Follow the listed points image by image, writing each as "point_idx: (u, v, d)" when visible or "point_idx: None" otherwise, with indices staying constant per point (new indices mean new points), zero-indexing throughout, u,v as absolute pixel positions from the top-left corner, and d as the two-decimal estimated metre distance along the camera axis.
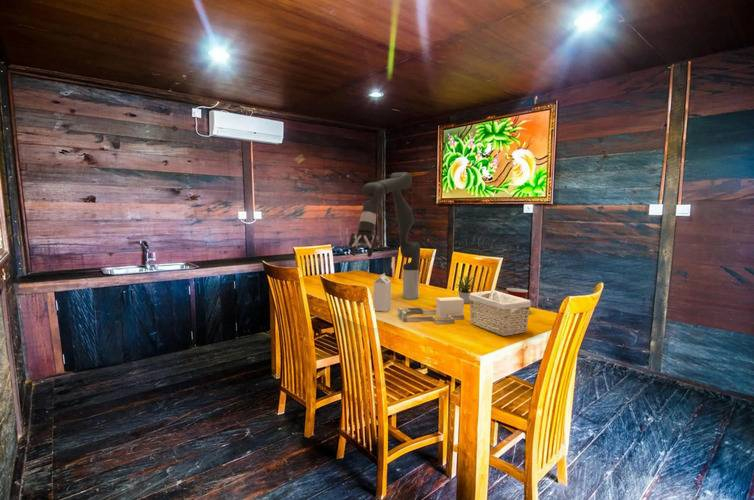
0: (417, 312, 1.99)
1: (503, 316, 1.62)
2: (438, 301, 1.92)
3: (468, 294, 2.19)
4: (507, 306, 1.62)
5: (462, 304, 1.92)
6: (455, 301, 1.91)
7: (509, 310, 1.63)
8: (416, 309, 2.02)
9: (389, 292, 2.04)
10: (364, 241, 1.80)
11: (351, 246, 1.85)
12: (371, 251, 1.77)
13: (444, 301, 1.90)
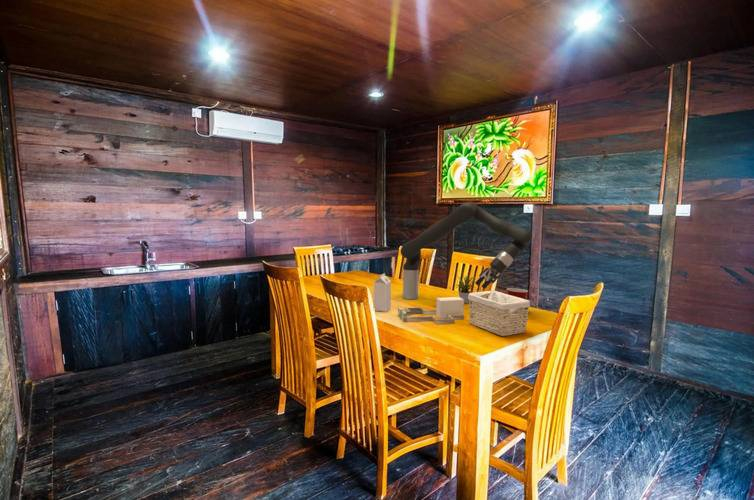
0: (417, 312, 1.99)
1: (502, 316, 1.62)
2: (438, 301, 1.92)
3: (468, 294, 2.19)
4: (506, 306, 1.61)
5: (462, 304, 1.92)
6: (455, 301, 1.91)
7: (508, 310, 1.63)
8: (416, 309, 2.02)
9: (389, 292, 2.04)
10: None
11: (490, 280, 1.87)
12: None
13: (444, 301, 1.90)
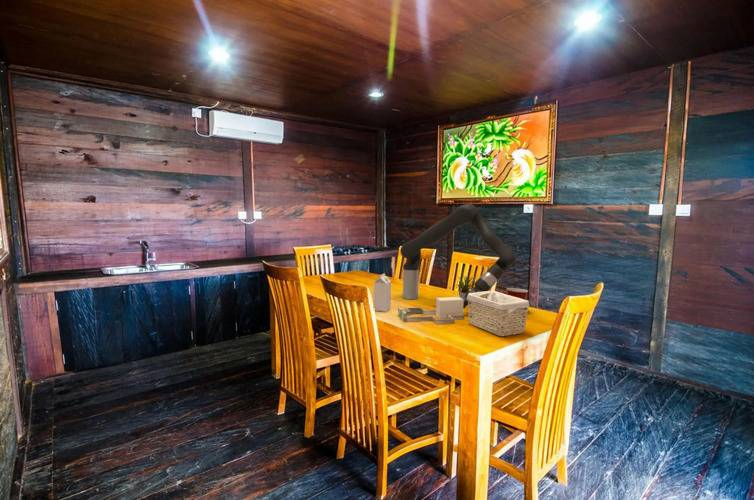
0: (417, 312, 1.99)
1: (500, 316, 1.62)
2: (438, 301, 1.92)
3: None
4: (505, 306, 1.61)
5: (462, 304, 1.91)
6: (455, 301, 1.91)
7: (507, 310, 1.62)
8: (416, 309, 2.02)
9: (389, 292, 2.04)
10: None
11: None
12: None
13: (444, 301, 1.90)
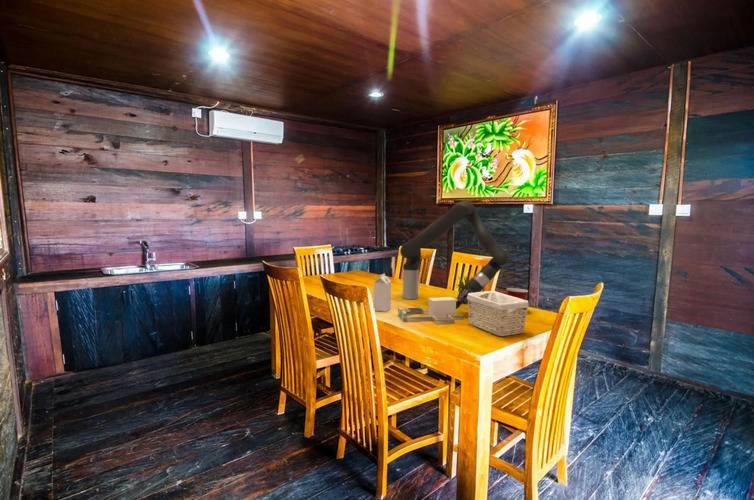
0: (417, 312, 1.99)
1: (500, 316, 1.62)
2: (430, 301, 1.91)
3: None
4: (504, 306, 1.61)
5: (455, 305, 1.91)
6: (447, 301, 1.90)
7: (506, 310, 1.62)
8: (416, 309, 2.02)
9: (389, 292, 2.04)
10: None
11: (461, 301, 1.92)
12: None
13: (436, 301, 1.89)
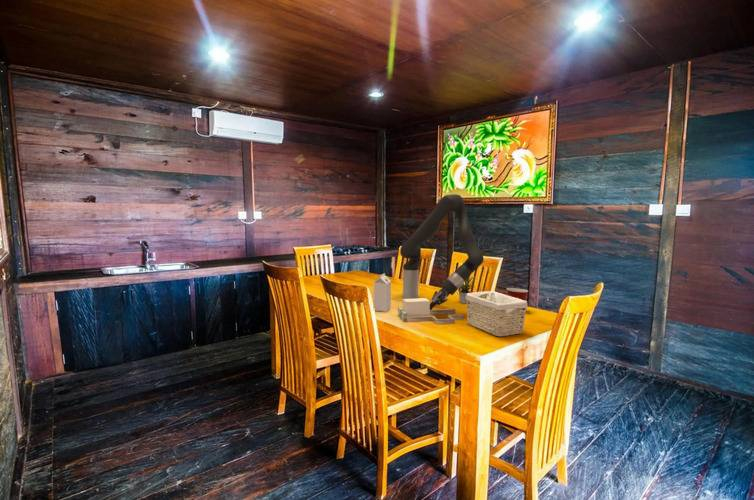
0: None
1: (498, 317, 1.61)
2: (404, 302, 1.89)
3: None
4: (502, 307, 1.61)
5: (428, 306, 1.88)
6: (421, 302, 1.87)
7: (504, 311, 1.62)
8: None
9: (389, 292, 2.04)
10: None
11: (435, 302, 1.89)
12: None
13: (409, 302, 1.86)
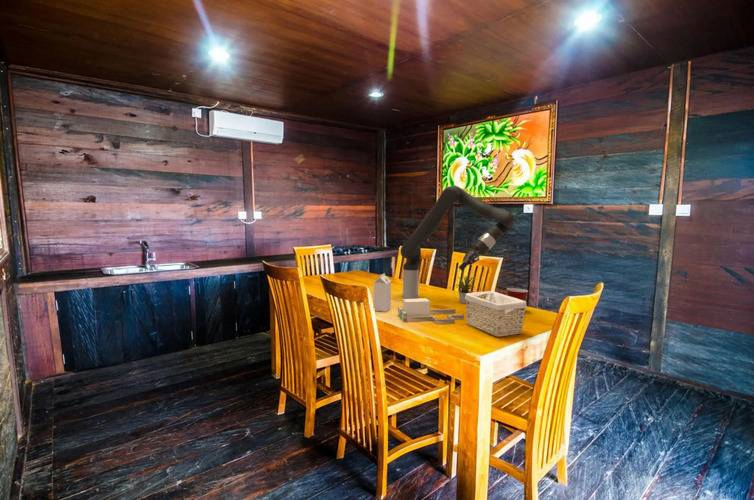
0: None
1: (497, 317, 1.61)
2: (404, 302, 1.89)
3: None
4: (501, 307, 1.61)
5: (428, 306, 1.88)
6: (421, 302, 1.87)
7: (503, 311, 1.62)
8: None
9: (389, 292, 2.04)
10: None
11: (467, 262, 1.90)
12: None
13: (409, 302, 1.86)
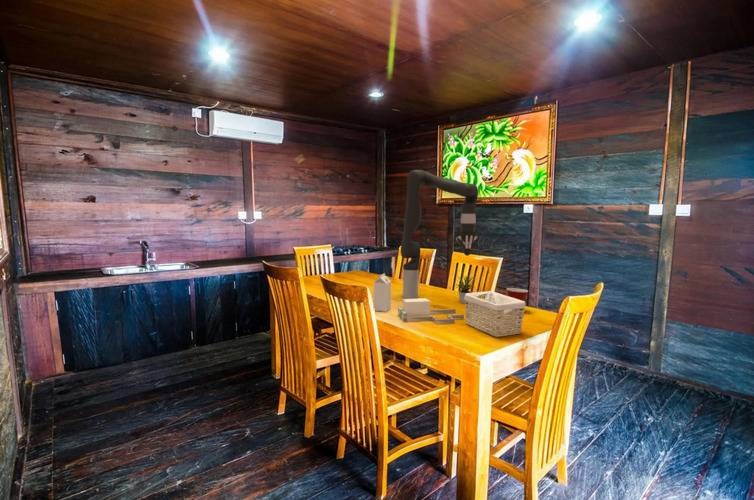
0: None
1: (496, 317, 1.61)
2: (404, 302, 1.89)
3: None
4: (500, 307, 1.60)
5: (428, 306, 1.88)
6: (421, 302, 1.87)
7: (502, 311, 1.62)
8: None
9: (389, 292, 2.04)
10: None
11: (462, 246, 2.04)
12: None
13: (409, 302, 1.86)
